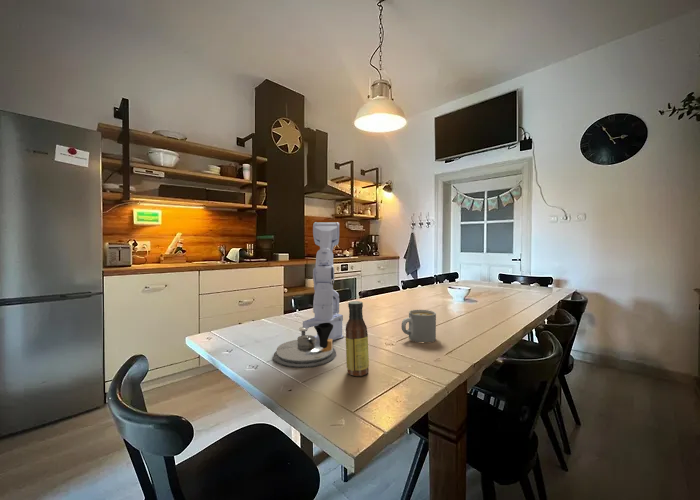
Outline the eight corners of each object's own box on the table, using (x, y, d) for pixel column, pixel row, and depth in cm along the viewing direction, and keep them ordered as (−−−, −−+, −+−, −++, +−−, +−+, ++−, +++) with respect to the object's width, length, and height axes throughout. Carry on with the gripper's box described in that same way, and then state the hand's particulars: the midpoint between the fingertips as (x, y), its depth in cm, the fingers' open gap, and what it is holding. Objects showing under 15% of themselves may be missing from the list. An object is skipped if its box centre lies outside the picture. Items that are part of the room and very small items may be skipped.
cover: (300, 344, 103) (300, 333, 103) (316, 345, 102) (316, 334, 102) (295, 350, 97) (295, 338, 97) (312, 351, 96) (312, 339, 96)
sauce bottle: (371, 369, 88) (371, 300, 88) (365, 379, 82) (365, 305, 82) (349, 366, 90) (349, 299, 90) (342, 375, 84) (342, 303, 84)
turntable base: (312, 341, 114) (312, 339, 114) (348, 355, 99) (348, 353, 99) (262, 354, 100) (262, 352, 100) (296, 373, 86) (296, 371, 85)
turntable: (287, 342, 110) (287, 330, 109) (337, 344, 107) (337, 332, 107) (267, 361, 92) (267, 347, 92) (327, 364, 90) (327, 350, 89)
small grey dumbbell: (304, 340, 114) (304, 326, 114) (309, 342, 112) (309, 328, 112) (297, 342, 112) (297, 328, 112) (302, 344, 109) (302, 330, 109)
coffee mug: (429, 334, 122) (430, 309, 122) (439, 342, 112) (440, 315, 112) (397, 335, 121) (397, 310, 121) (404, 343, 111) (404, 316, 111)
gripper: (312, 309, 89) (312, 356, 89) (349, 302, 99) (349, 345, 99) (298, 305, 94) (298, 349, 94) (335, 299, 104) (334, 339, 104)
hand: (323, 347), depth 97 cm, fingers closed, pressing on turntable
